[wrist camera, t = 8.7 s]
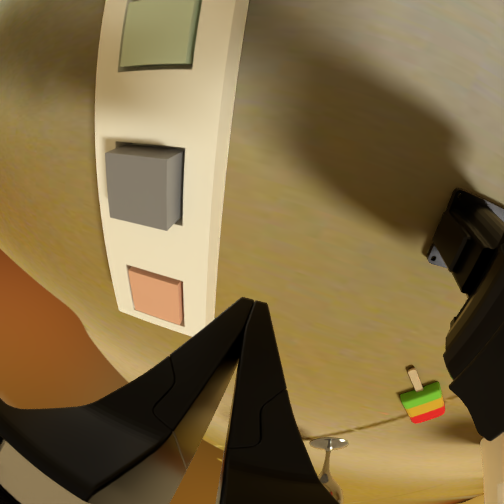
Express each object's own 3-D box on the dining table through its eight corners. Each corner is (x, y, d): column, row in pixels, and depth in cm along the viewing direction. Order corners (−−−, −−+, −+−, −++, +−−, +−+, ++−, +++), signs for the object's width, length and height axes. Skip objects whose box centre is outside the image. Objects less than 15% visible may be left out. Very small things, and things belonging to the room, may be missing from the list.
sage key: (210, 2, 13) (195, -7, 11) (201, 65, 16) (185, 63, 14) (148, 8, 14) (128, 2, 12) (140, 66, 17) (120, 66, 15)
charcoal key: (184, 150, 18) (167, 159, 16) (182, 215, 21) (167, 231, 19) (125, 144, 19) (105, 152, 17) (128, 204, 22) (109, 217, 19)
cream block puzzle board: (251, -13, 13) (240, -27, 10) (214, 320, 29) (205, 340, 27) (128, -1, 14) (107, -7, 12) (131, 294, 30) (119, 310, 28)
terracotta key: (189, 268, 25) (177, 285, 23) (189, 307, 28) (179, 324, 26) (141, 255, 26) (128, 270, 24) (146, 294, 29) (135, 309, 27)
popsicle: (412, 415, 33) (412, 425, 32) (388, 371, 29) (390, 384, 27) (444, 404, 31) (446, 414, 29) (431, 355, 26) (434, 368, 25)
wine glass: (351, 449, 42) (342, 518, 30) (310, 450, 45) (297, 518, 32) (350, 435, 38) (341, 515, 26) (304, 437, 41) (289, 513, 29)
